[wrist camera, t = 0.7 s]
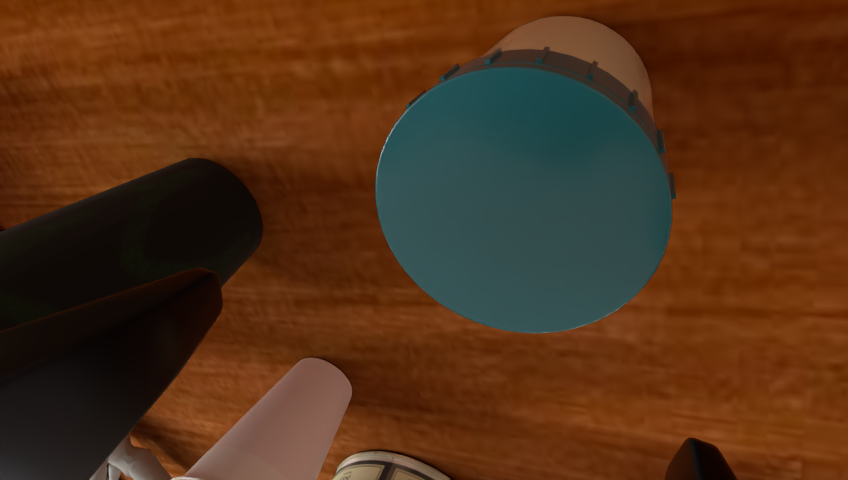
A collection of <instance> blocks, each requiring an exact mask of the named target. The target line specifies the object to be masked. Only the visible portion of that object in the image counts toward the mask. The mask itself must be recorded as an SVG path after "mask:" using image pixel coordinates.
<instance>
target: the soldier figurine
mask: <svg viewBox="0 0 848 480" xmlns="http://www.w3.org/2000/svg"><path fill="white" fill-rule="evenodd" d="M108 463H110V465H109V480H118V479H119V477H120V474H121V471H122V472H124V474H125V475H126V476H127V477H132V478H133V479H134V480H171V479H172V477H171V476H170V475H169V473H168V472H167V471H166V470H165V469H164V467H163V466H162V465H161V463H160V462H159V461H158V459H157V458H156V456H153V454H152V452H151V451H150V450H149V449H144V448H139V447H134V446H133V445H132V444H131V441H130V436H129V435H127V436H126V437H125V438H124V439H123V441H122V442H121V443H120V444H119V445H118V447H117V448H116V449H115V450H114V451H113V452H112V454H111V455H110V456H109V457H108V458H107V459H106V461H105V462H104V463H103V464H102V465H101V467H100V468H99V469H98V470H97V471H96V472H95V474H94V475H93V476H92V477H91V478H90V480H105V479H106V474H107V467H106V465H107V464H108Z"/></svg>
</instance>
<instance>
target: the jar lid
mask: <svg viewBox="0 0 848 480" xmlns="http://www.w3.org/2000/svg"><path fill="white" fill-rule="evenodd" d="M597 65H598V62H596V61H593V62H592V63H590V62H587V61H584V60H582V59H579V58H577V57H574V56H571V55H567V54H563V53H559V52H554V51H550V47H545V48H544V49H543V50H537V49H519V50H508V51H502V50H501V48H498V49H496V50H495V51H494V52H493V53H492V54H489V55H486V56H483V57H480V58H477V59H474V60H472V61H470V62H468V63H466V64H464V65H462V66H459V64H456V65H454V66H453V67H452V68H451V69H449V70H448V71H447V72H446V73H444V74H443V75H442V76H441V77H439V78H440V81H438V82H437V83H436V84H435V85H434V86H432V87H431V88H430V89H429V90H427V91H423V92H422V93H421V94H420V95H418V96H417V97H416V98H415V99H413V100H412V101H411V102H410V103H409V104H408V105H407V106H406V108H407V109H406V110H405V112H404V113H403V114H402V115H401V117H400V118H399V119H398V120H397V121H396V123H395V125H394V126H393V128H392V130H391V131H390V133H389V135H388V136H387V138H386V141H385V143H384V146H383V148H382V151H381V154H380V158H379V162H378V166H377V172H376V182H375V195H376V206H377V212H378V217H379V221H380V224H381V227H382V231H383V233H384V236H385V238H386V240H387V243H388V245H389V247H390V249H391V251H392V252H393V254H394V256H395V257H396V259H397V261H398V262H399V263H400V265H401V266H402V268H403V269H404V270H405V272H406V273H407V274H408V275H409V276H410V277H411V278H412V280H413V281H414V282H415V283H416V284H417V285H418V286H419V287H420V288H421V289H422V290H424V291H425V292H426V293H427V294H428V295H429V296H430V297H432V298H433V299H435V300H436V301H437V302H439V303H440V304H442V305H443V306H445V307H446V308H448V309H450V310H451V311H453V312H455V313H457V314H459V315H461V316H463V317H465V318H467V319H469V320H472V321H474V322H477V323H480V324H483V325H486V326H489V327H493V328H497V329H501V330H506V331H513V332H520V333H551V332H559V331H565V330H571V329H575V328H578V327H581V326H585V325H588V324H591V323H593V322H595V321H598V320H600V319H602V318H605V317H606V316H608V315H610V314H611V313H613V312H615V311H616V310H618V309H620V308H621V307H622V306H624V305H625V304H626V303H627V302H629V301H630V300H631V299H632V298H634V297H635V296H636V294H637V293H638V292H639V291H640V290H641V289H642V288H643V287H644V286H645V285H646V284H647V282H648V281H649V280H650V278H651V277H652V275H653V274H654V273H655V271H656V269H657V267H658V265H659V264H660V262H661V260H662V258H663V256H664V253H665V250H666V247H667V244H668V241H669V237H670V231H671V224H672V199H676V193H675V185H674V177H673V173H669V167H668V162H667V156H666V147H665V138H664V132H663V129H660V130H658V128H657V127H656V125H655V123H654V121H653V119H652V117H651V115H650V114H649V112H648V111H647V110H646V108H645V107H644V106H643V104H642V103H641V102H640V100H639V99H638V92H637V91H636V90H635V89H634V90H633V91H632V92H631V91H630V90H629V89H628V88H627V87H626V86H625V85H624V84H623V83H621V82H620V81H619V80H617V79H616V78H615V77H613V76H612V75H611V74H609V73H608V72H606V71H604V70H603V69H601V68H599V67H597Z"/></svg>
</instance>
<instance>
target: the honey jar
mask: <svg viewBox="0 0 848 480" xmlns="http://www.w3.org/2000/svg"><path fill="white" fill-rule="evenodd" d="M545 47H550V51H554V52H559V53H563V54H567V55H571V56H574V57H577V58H579V59H582V60H584V61H587V62H590V63H592V62H593V61H596V62H598V65H597V67H599V68H601V69H603V70H604V71H606V72H608V73H609V74H611V75H612V76H613V77H615V78H616V79H617V80H619V81H620V82H621V83H623V84H624V85H625V86H626V87H627V88H628V89H629V90H630V91H631V92H632V91H633V90H634V89H635V90H636V91H637V92H638V99H639V100H640V102H641V103H642V104H643V106H644V107H645V108H646V110H647V111H648V112H649V114H650V115H651V117H652V119H653V103H652V91H651V85H650V80H649V77H648V74H647V71H646V68H645V66H644V64H643V62H642V60H641V58H640V57H639V55H638V54H637V53H636V51H635V50H634V48H633V47H632V46H631V45H630V44H629V43H628V42H627V41H626V40H625V39H624V38H623V37H622V36H620V35H619V34H618V33H616V32H615V31H614V30H612V29H610V28H608V27H606V26H605V25H603V24H600V23H598V22H595V21H592V20H589V19H585V18H580V17H573V16H555V17H548V18H543V19H538V20H535V21H532V22H529V23H527V24H525V25H523V26H521V27H519V28H517V29H515V30H513V31H512V32H511V33H509V34H508V35H506V36H505V37H504V38H503V39H501V40H500V41H499V42H498V43H497V44H496V45H495V46H494V47H492V48H491V49H490V50H489V51H488V52H487V53H486V54H485V55H484V56H486V55H489V54H492V53H493V52H494V51H495V50H496V49H498V48H501V50H502V51H508V50H519V49H537V50H543V49H544V48H545ZM482 57H483V56H482ZM653 121H654V119H653Z"/></svg>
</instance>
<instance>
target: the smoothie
mask: <svg viewBox="0 0 848 480" xmlns="http://www.w3.org/2000/svg"><path fill="white" fill-rule="evenodd" d="M351 397H352V387H351V384H350V382H349V380H348V379H347V377H346V376H345V375H344V374H343V373H342V372H341V371H340V370H339V369H338V368H337V367H335V366H334V365H332V364H331V363H329V362H327V361H324V360H322V359H318V358H304V359H302V360H300V361H299V362H298V363H297V364H296V365H295V366H294V367H293V368H292V369H291V370H290V371H289V372H288V373H287V374H286V375H285V376H284V377H283V378H281V379H280V380H279V381H278V382H277V383H276V384H275V385H274V386H273V387H272V388H271V389H270V390H269V391H268V392H267V393H266V394H265V395H264V396H263V397H262V398H261V399H260V400H259V401H258V402H257V403H256V404H255V405H254V406H253V407H252V408H251V409H250V410H249V411H248V412H247V413H246V414H245V415H244V416H243V417H242V418H241V419H240V420H239V421H238V422H237V423H236V424H235V425H234V426H233V427H232V428H231V429H230V430H229V431H228V432H227V433H226V434H225V435H224V436H223V437H222V438H221V439H220V440H219V441H218V442H217V443H216V444H215V445H214V446H213V447H212V448H211V449H210V450H208V451H207V452H206V453H205V454H204V455H203V456H202V457H201V458H200V459H199V461H198V462H197V463H196V464H195V465H194V466H193V467H192V468H191V469H190V470H189V471H188V472H187V473H186V474H185V475H184V476H179V477H174V478H172V479H171V480H317V477H318V475H319V473H320V470H321V468H322V466H323V463H324V461H325V458H326V456H327V454H328V451H329V449H330V447H331V444H332V442H333V440H334V437H335V435H336V432H337V430H338V428H339V425H340V423H341V421H342V418H343V416H344V414H345V411H346V409H347V406H348V404H349V402H350V399H351Z"/></svg>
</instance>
